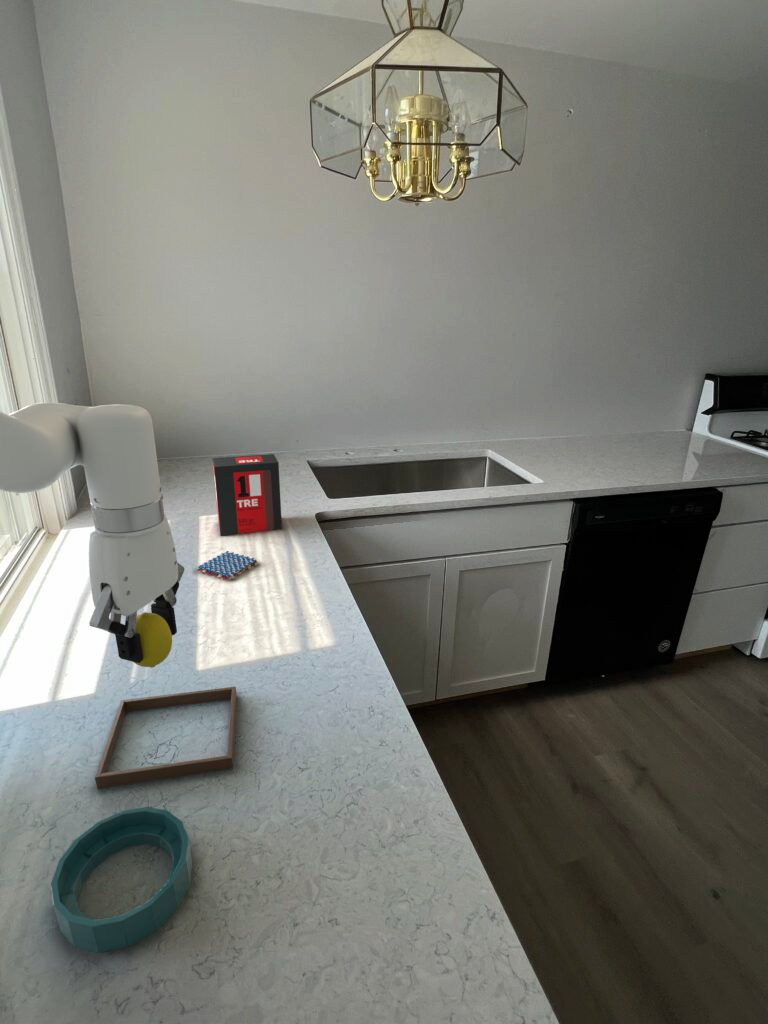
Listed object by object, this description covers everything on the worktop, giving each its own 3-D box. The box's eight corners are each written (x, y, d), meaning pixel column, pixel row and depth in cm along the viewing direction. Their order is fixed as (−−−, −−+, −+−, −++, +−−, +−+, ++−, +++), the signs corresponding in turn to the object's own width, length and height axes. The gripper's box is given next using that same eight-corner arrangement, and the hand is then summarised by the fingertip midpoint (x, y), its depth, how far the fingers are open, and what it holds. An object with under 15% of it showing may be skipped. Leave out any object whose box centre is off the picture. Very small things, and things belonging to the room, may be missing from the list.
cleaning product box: (220, 538, 150) (213, 466, 143) (219, 526, 158) (212, 458, 151) (282, 531, 155) (278, 462, 148) (277, 520, 163) (273, 454, 156)
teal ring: (41, 969, 54) (31, 938, 52) (80, 845, 66) (73, 817, 64) (184, 939, 56) (179, 909, 55) (197, 826, 68) (193, 799, 67)
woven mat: (194, 573, 130) (194, 566, 130) (226, 557, 139) (225, 549, 138) (229, 584, 126) (228, 576, 125) (259, 566, 135) (258, 558, 134)
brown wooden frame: (97, 792, 73) (94, 777, 72) (123, 713, 87) (120, 700, 86) (233, 772, 76) (231, 757, 75) (237, 699, 90) (235, 686, 89)
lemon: (119, 674, 71) (110, 619, 68) (151, 650, 75) (143, 598, 73) (154, 684, 69) (146, 629, 66) (184, 659, 74) (177, 607, 71)
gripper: (153, 488, 73) (169, 607, 80) (40, 536, 58) (71, 679, 64) (201, 495, 71) (214, 617, 78) (97, 546, 56) (124, 694, 62)
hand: (149, 644), depth 71 cm, fingers closed on lemon, 5 cm apart
